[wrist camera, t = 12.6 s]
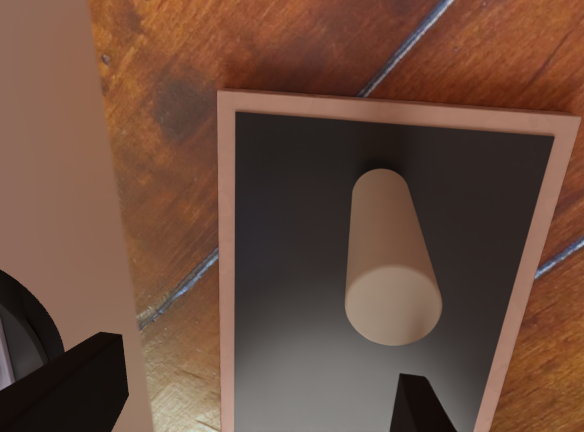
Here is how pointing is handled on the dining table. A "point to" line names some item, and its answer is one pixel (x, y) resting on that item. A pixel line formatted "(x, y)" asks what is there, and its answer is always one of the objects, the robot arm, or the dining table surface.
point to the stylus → (388, 264)
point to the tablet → (335, 242)
